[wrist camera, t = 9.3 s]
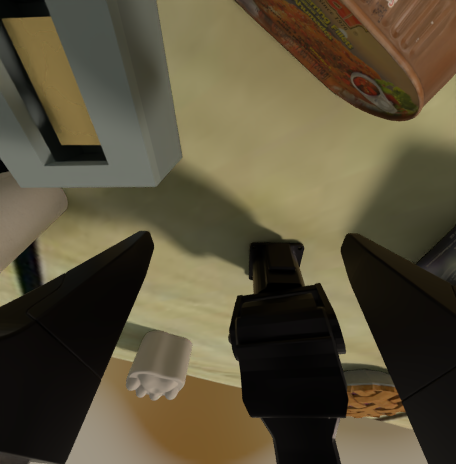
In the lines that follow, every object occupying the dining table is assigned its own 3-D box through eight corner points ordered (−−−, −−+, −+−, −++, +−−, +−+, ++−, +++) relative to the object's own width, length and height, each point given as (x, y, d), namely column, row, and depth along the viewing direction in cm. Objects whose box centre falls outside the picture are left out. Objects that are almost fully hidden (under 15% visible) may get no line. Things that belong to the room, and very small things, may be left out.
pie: (290, 382, 52) (294, 407, 48) (369, 356, 40) (383, 386, 36) (344, 403, 58) (351, 426, 54) (425, 385, 47) (442, 413, 43)
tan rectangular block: (136, 131, 17) (103, 145, 13) (103, 131, 18) (61, 144, 14) (111, 36, 14) (57, 16, 10) (71, 38, 14) (1, 18, 10)
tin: (197, -34, 12) (136, -185, 5) (223, -115, 11) (184, -480, 4) (358, 118, 16) (440, 140, 9) (397, 76, 15) (528, 68, 8)
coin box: (182, 157, 19) (156, 186, 13) (84, 159, 20) (20, 187, 14) (152, -22, 13) (77, -109, 7) (9, -9, 13) (-164, -78, 8)
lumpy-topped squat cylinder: (197, 341, 41) (188, 393, 34) (178, 362, 49) (166, 408, 42) (149, 326, 39) (128, 378, 32) (136, 350, 46) (117, 397, 39)
